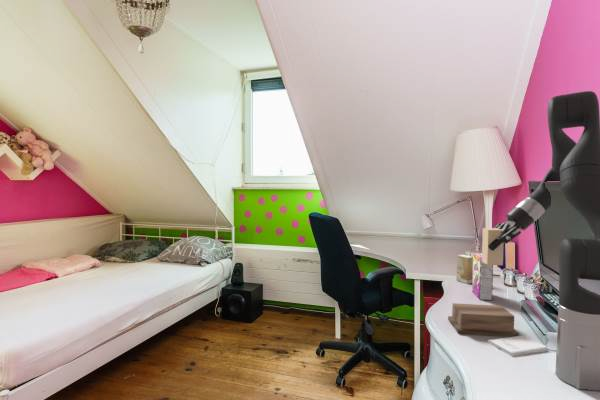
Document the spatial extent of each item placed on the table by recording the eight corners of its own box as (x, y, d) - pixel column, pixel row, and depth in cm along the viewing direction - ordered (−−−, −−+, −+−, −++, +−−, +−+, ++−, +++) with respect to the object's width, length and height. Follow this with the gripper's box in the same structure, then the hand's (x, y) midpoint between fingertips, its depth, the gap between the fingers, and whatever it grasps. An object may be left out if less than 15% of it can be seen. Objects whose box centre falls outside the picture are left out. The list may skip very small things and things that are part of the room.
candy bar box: (471, 291, 151) (472, 253, 150) (484, 292, 150) (485, 253, 149) (478, 300, 140) (480, 258, 139) (492, 301, 139) (494, 259, 138)
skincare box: (455, 280, 168) (456, 254, 167) (462, 279, 170) (463, 254, 169) (467, 284, 162) (468, 257, 161) (474, 283, 164) (474, 256, 163)
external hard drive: (547, 352, 98) (511, 358, 95) (522, 340, 106) (487, 344, 103) (548, 347, 98) (511, 352, 95) (522, 334, 106) (487, 339, 103)
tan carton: (502, 265, 121) (504, 230, 120) (487, 264, 122) (488, 229, 121) (496, 262, 126) (497, 228, 125) (481, 261, 127) (482, 228, 126)
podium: (518, 337, 106) (519, 317, 106) (458, 333, 109) (458, 314, 108) (502, 322, 117) (503, 304, 117) (448, 319, 120) (448, 302, 119)
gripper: (507, 204, 129) (471, 236, 131) (527, 206, 115) (486, 242, 117) (523, 219, 129) (486, 251, 131) (544, 223, 114) (503, 259, 116)
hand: (487, 247), depth 124 cm, fingers closed on tan carton, 5 cm apart
